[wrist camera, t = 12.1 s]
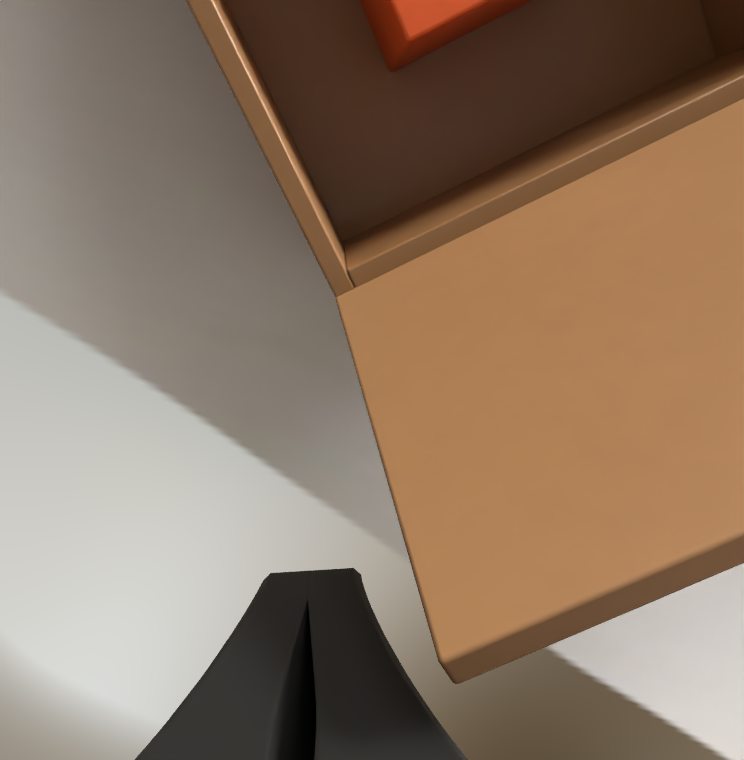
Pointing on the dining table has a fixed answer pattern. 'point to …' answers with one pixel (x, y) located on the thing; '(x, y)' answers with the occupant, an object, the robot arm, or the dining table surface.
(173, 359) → the dining table surface
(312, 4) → the box
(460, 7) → the block
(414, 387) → the flap
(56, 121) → the dining table surface
